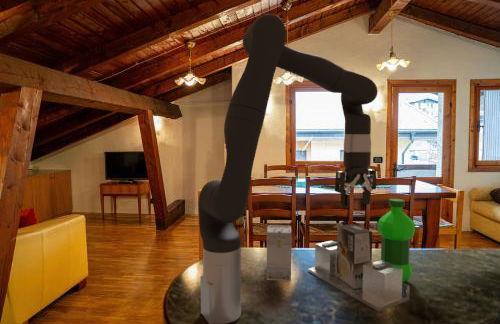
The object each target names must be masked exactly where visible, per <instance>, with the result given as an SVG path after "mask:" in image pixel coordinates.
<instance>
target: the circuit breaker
mask: <svg viewBox="0 0 500 324" xmlns="http://www.w3.org/2000/svg"><path fill="white" fill-rule="evenodd" d="M266 229H267V230H266V281H285V282H286V281H287V282H292V226H291V225H280V224H279V225H275V224H274V225H272V224H271V225H270V224H268V225H267V228H266Z"/></svg>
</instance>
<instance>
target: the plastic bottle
mask: <svg viewBox="0 0 500 324" xmlns="http://www.w3.org/2000/svg"><path fill="white" fill-rule="evenodd" d="M405 204H406V203H405V200H404V199H401V198H389V199H388V206H389V207H390V210H389V211H388V212H387V213H386V214H384V215H383V216H382V217H380V218H379V219H378V221H377V223H376V224H377V226H376V227H377V232H378V233H379V235H380V236H381V242H380V245H381V247H380V259H379V261H380V260H381V261H384V262H390V263H392V264H393V265H394V266H397V267H399V268H402V269H403V274H402V283H405V282H407V281H408V280H410V277H411V276H412V273H413V267H412V263H411V262H410V251H411V250H410V248H411V245H410V244H411V243H410V242H411V239H412V238H413V237H414V235H415V233H416V225H415V222H414V221H413V219H412V218H410V217H409V215H407V214H406V213H405V212H403V208H404V207H405Z"/></svg>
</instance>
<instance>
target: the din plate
mask: <svg viewBox="0 0 500 324" xmlns="http://www.w3.org/2000/svg"><path fill="white" fill-rule="evenodd" d="M314 245H315V246H314V247H315V248H314V255H315V256H314V266H313V267H309V268H307V272H308V273H310V274H311V275H314V277H315V276H316V277H317V278H319V279H320V280H322V281H324V282H325V283H327V284H329V285H331V286H333V287H334V288H336V289H337V290H340V291H341V292H342V293H345V294H347V295H349V296H350V297H352V298H353V299H356V300H357V301H359V302H361V303H362V304H364V305H366V306H368V307H370V308H371V309H374V310H375V311H377V312H382V311H384V310H387V309H389V308H392V307H395V306H397V305H400V304H402V303H405V302H408V301H410V290H411V289H410V287H411V285H409V284H406V283H405V282H403V283H402V274H403V269H402V268H399V267H397V266H394V265H393V264H392V263H390V262H384V261H381V260H380V259H379V260H377V261H372V263H368V264H365V265H363V287H362V288H356V289H354V288H352V287H351V286H349V285H348V284H347V283H345V282H344V281H342V280H341V279H339V278H338V277H337V240H336V241H334V240H328V241H324V242H323V241H322V242H317V243H315V244H314Z"/></svg>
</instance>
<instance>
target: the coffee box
mask: <svg viewBox="0 0 500 324" xmlns="http://www.w3.org/2000/svg"><path fill="white" fill-rule="evenodd" d="M336 229H337V232H336V233H337V234H336V235H337V236H336V238H337V239H336V242H337V277H338V278H339V279H341V280H342V281H344V282H345V283H347V284H348V285H349V286H351V287H352V288H354V289H356V288H362V287H363V265H365V264H368V263H372V262H373V231H372V230H370V229H367V228H364V227H362V226H360V225H358V224H356V223H355V224H354V223H352V224H350V223H349V224H348V223H347V224H343V225H337V227H336Z"/></svg>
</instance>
